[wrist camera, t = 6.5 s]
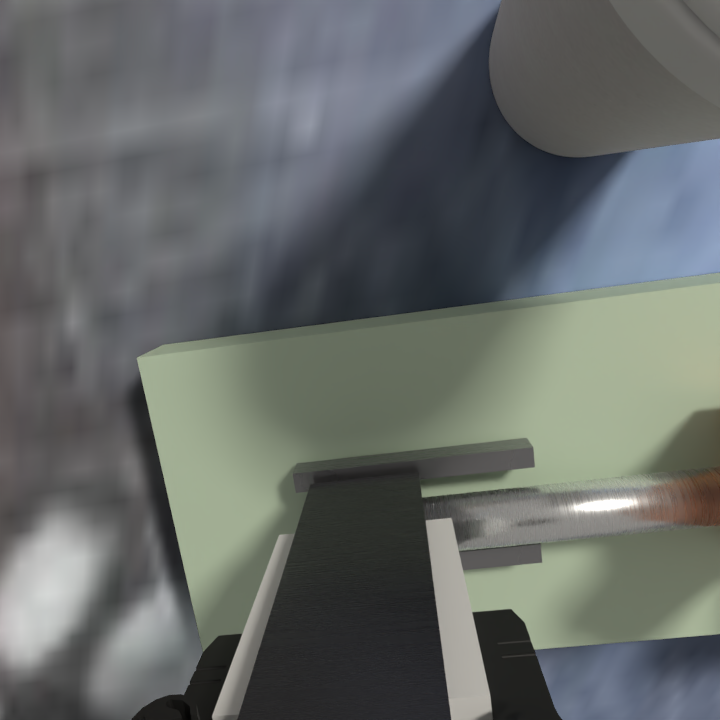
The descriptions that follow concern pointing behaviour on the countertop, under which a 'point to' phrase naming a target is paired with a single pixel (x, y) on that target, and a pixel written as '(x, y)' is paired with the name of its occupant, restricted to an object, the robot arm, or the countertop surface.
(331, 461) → the rail guide
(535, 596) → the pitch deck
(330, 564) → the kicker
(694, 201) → the countertop surface
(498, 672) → the robot arm
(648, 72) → the coffee cup
